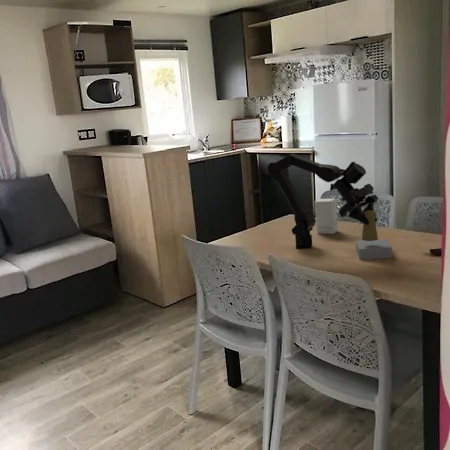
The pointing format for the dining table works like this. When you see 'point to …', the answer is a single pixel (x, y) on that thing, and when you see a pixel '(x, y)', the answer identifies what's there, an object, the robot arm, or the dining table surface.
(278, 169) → the robot arm
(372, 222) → the cork
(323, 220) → the skincare box
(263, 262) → the dining table surface
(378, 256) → the podium
